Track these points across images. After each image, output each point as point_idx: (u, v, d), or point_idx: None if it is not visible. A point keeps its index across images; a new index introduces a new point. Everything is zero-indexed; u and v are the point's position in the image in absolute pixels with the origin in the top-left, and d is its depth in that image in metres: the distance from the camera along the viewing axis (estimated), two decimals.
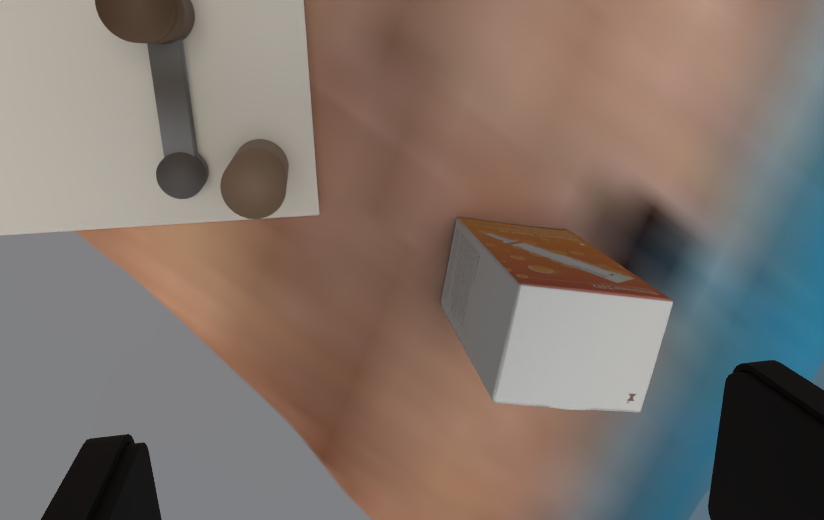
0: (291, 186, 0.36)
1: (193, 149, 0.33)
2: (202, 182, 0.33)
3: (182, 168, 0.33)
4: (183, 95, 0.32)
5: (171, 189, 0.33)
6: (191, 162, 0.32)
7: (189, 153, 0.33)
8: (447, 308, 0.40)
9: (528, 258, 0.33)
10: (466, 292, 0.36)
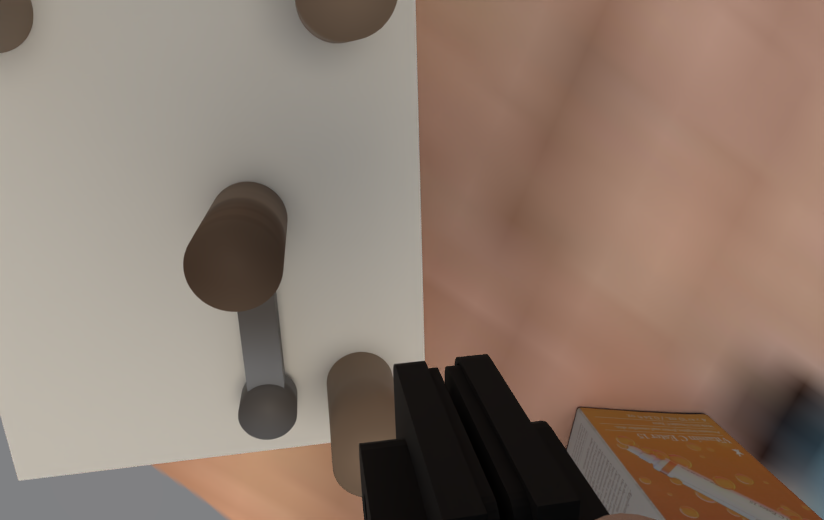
0: None
1: (283, 379, 0.26)
2: (294, 419, 0.26)
3: (270, 405, 0.26)
4: (274, 320, 0.25)
5: (256, 430, 0.26)
6: (282, 398, 0.26)
7: (278, 385, 0.26)
8: None
9: (701, 511, 0.26)
10: None
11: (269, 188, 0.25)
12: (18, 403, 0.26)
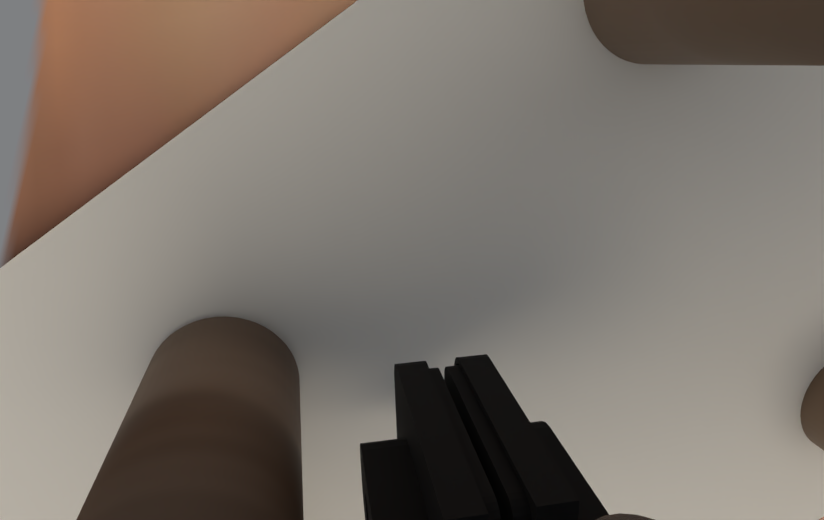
0: None
1: None
2: None
3: None
4: None
5: None
6: None
7: None
8: None
9: None
10: None
11: (264, 328, 0.12)
12: None
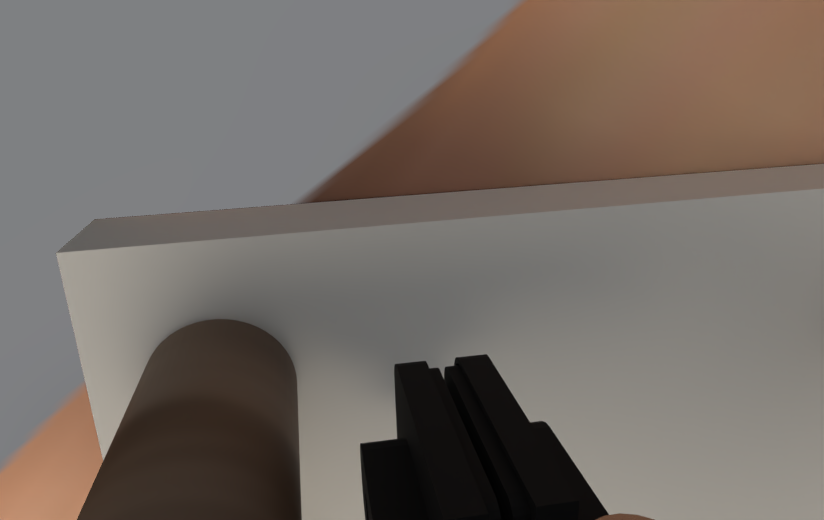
0: None
1: None
2: None
3: None
4: None
5: None
6: None
7: None
8: None
9: None
10: None
11: (257, 328, 0.12)
12: (267, 273, 0.12)
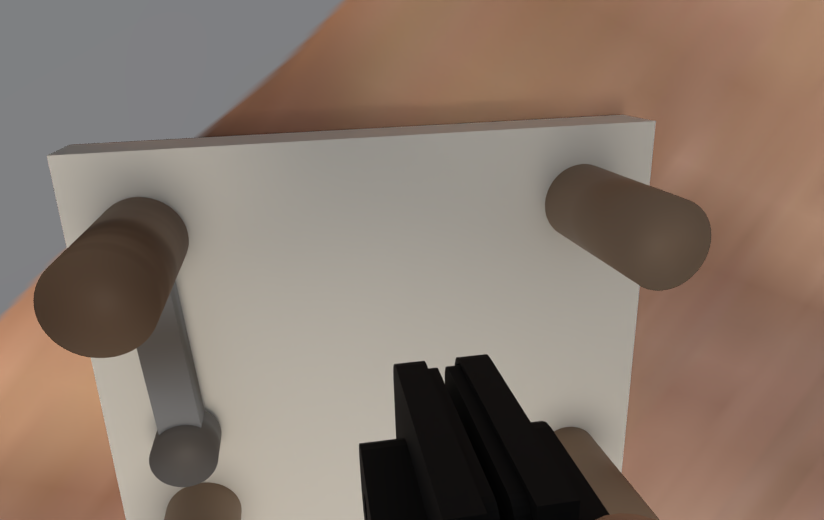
0: None
1: (199, 417, 0.23)
2: (215, 462, 0.23)
3: (186, 449, 0.23)
4: (180, 353, 0.22)
5: (172, 477, 0.23)
6: (198, 440, 0.23)
7: (194, 425, 0.23)
8: None
9: None
10: None
11: (162, 203, 0.21)
12: (170, 171, 0.21)
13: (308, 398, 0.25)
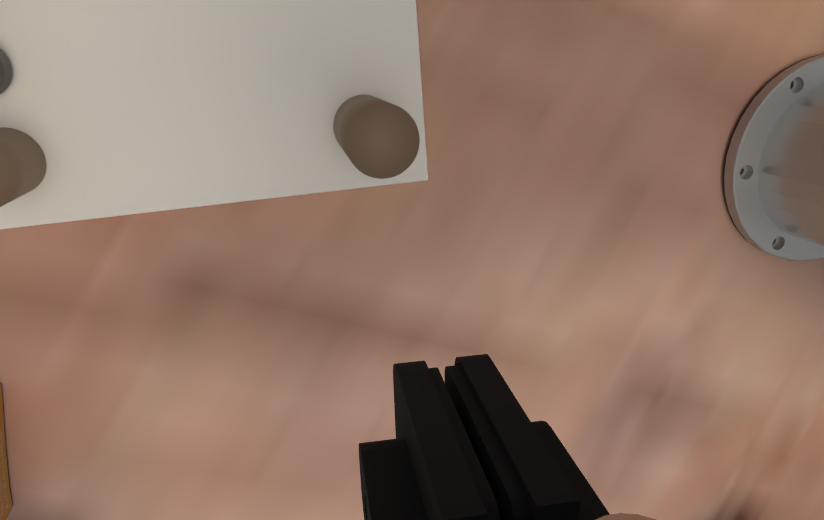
0: None
1: None
2: None
3: None
4: None
5: None
6: None
7: None
8: None
9: None
10: None
11: None
12: None
13: (95, 42, 0.27)
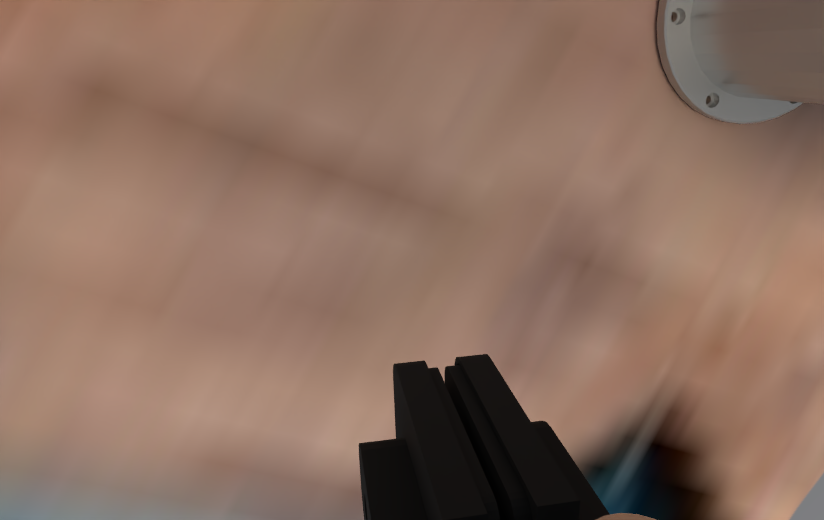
0: None
1: None
2: None
3: None
4: None
5: None
6: None
7: None
8: None
9: None
10: None
11: None
12: None
13: None
